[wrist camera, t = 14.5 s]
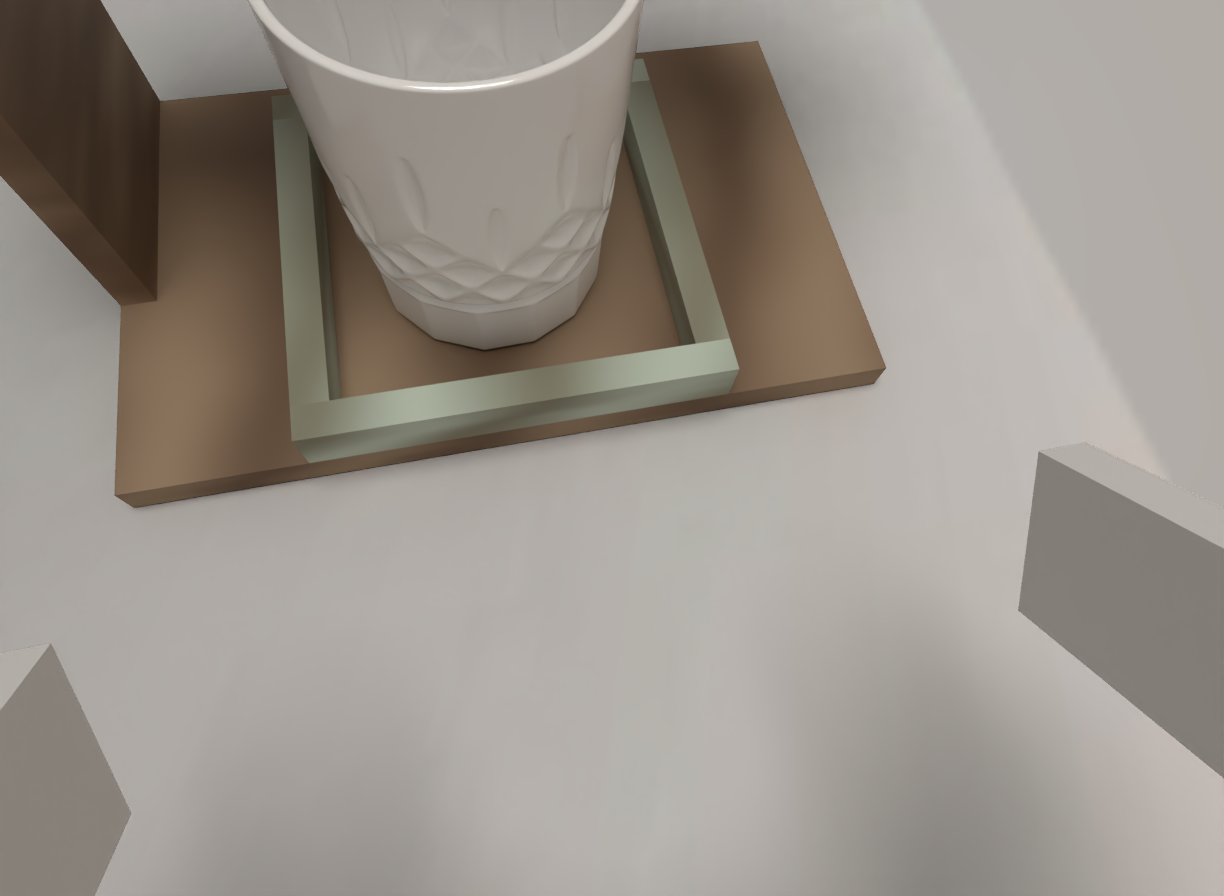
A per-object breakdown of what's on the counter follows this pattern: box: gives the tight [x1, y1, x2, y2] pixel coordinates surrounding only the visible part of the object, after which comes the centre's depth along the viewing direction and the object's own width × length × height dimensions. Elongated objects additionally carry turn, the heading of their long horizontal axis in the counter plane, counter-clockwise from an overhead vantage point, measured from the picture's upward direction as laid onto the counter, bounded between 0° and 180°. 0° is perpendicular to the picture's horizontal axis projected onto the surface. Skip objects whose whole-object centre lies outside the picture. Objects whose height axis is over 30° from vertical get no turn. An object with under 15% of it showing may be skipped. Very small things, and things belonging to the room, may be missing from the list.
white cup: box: [248, 0, 644, 350], centre depth 20 cm, size 8×8×10 cm
